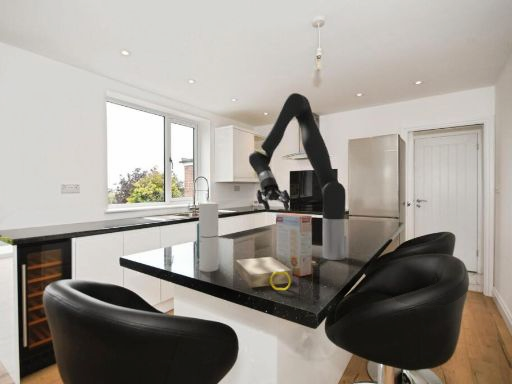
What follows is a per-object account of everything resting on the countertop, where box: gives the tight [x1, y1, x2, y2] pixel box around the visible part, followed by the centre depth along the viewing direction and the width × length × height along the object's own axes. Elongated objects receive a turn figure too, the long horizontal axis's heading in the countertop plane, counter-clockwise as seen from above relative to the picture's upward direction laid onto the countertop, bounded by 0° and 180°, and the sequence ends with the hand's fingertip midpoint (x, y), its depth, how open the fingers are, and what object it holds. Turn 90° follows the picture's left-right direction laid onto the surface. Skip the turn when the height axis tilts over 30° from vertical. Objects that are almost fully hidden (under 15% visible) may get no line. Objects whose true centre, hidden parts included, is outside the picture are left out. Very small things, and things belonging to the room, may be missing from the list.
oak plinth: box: [235, 256, 293, 288], centre depth 93 cm, size 14×18×4 cm
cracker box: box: [276, 212, 313, 277], centre depth 99 cm, size 14×6×21 cm, turn 31°
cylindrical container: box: [198, 202, 220, 273], centre depth 102 cm, size 7×7×25 cm
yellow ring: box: [270, 269, 291, 291], centre depth 81 cm, size 6×3×6 cm, turn 80°
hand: (278, 209), depth 112 cm, fingers open, 8 cm apart
